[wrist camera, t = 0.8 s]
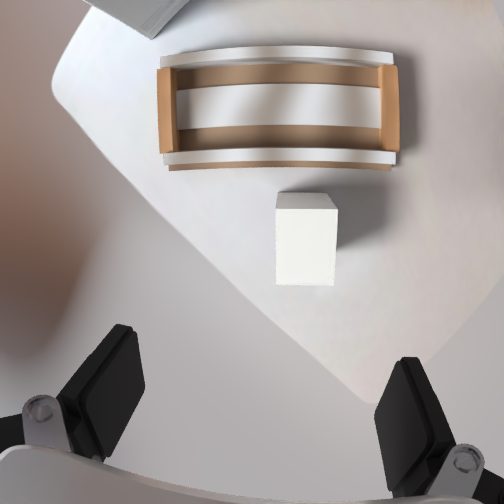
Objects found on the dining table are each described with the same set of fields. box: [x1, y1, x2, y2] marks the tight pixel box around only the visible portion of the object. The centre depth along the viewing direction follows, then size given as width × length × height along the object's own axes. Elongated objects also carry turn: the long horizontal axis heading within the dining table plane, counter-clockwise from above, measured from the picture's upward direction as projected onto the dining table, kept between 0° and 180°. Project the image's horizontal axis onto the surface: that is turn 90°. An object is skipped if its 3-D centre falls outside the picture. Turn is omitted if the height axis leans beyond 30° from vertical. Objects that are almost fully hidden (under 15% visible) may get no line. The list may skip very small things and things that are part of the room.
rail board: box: [157, 46, 400, 171], centre depth 25 cm, size 20×11×4 cm, turn 92°
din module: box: [276, 192, 338, 285], centre depth 27 cm, size 4×6×7 cm
